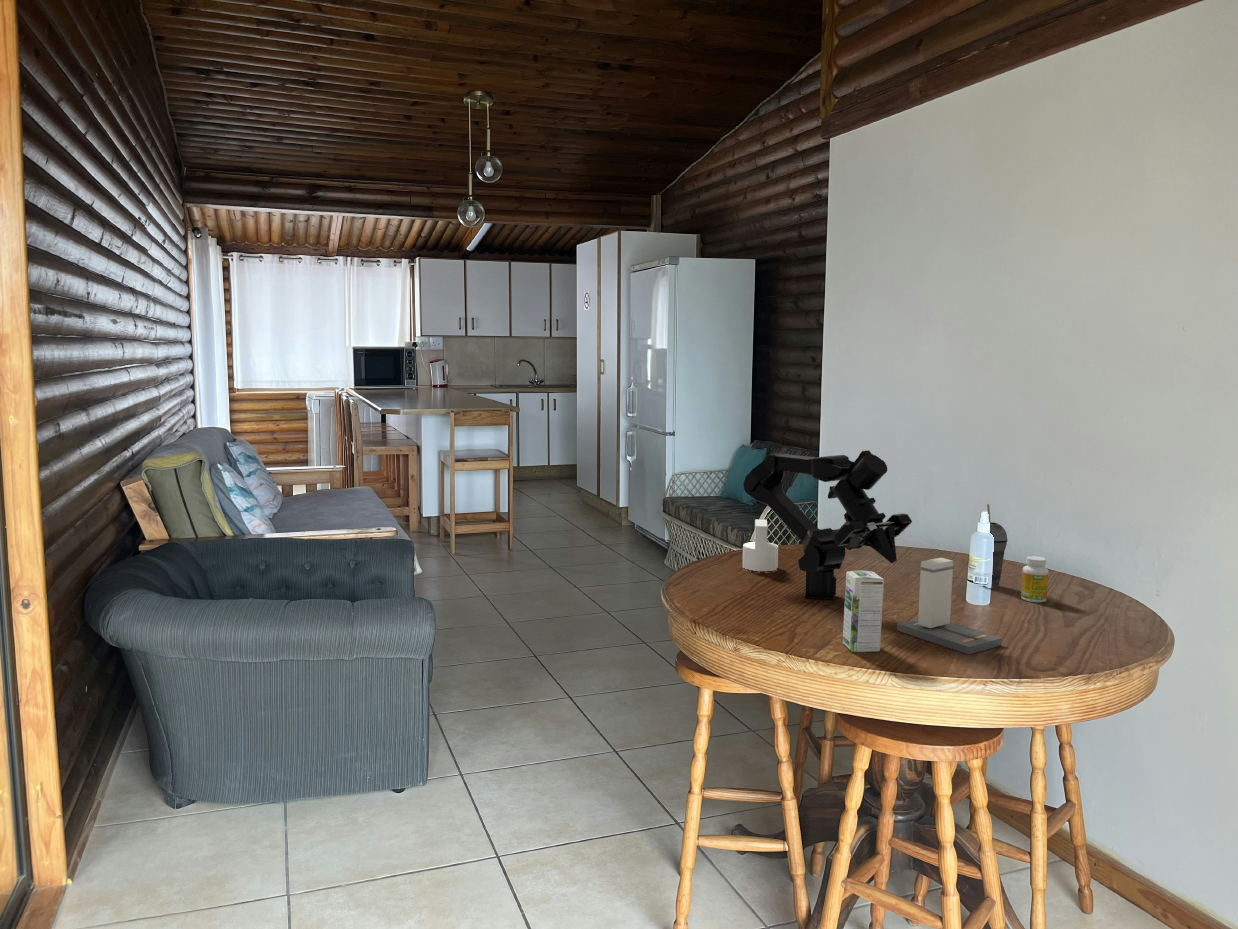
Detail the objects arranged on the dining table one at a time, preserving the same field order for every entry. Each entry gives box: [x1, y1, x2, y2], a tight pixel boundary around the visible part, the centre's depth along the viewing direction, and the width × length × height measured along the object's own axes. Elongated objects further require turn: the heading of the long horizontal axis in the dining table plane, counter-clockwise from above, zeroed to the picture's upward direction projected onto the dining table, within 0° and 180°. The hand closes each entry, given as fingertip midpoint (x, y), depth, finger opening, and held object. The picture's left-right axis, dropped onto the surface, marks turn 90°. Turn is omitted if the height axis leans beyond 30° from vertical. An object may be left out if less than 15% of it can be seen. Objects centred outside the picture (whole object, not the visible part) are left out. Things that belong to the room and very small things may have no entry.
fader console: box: [896, 618, 1003, 655], centre depth 180 cm, size 17×10×2 cm, turn 33°
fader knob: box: [917, 557, 954, 628], centre depth 182 cm, size 3×6×13 cm, turn 123°
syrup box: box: [842, 570, 885, 653], centre depth 173 cm, size 6×6×14 cm
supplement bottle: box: [1020, 555, 1049, 603], centre depth 207 cm, size 5×5×10 cm
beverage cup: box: [986, 503, 1009, 589], centre depth 217 cm, size 7×7×20 cm
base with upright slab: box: [742, 518, 779, 572], centre depth 234 cm, size 9×9×12 cm
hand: (894, 562), depth 190 cm, fingers closed
